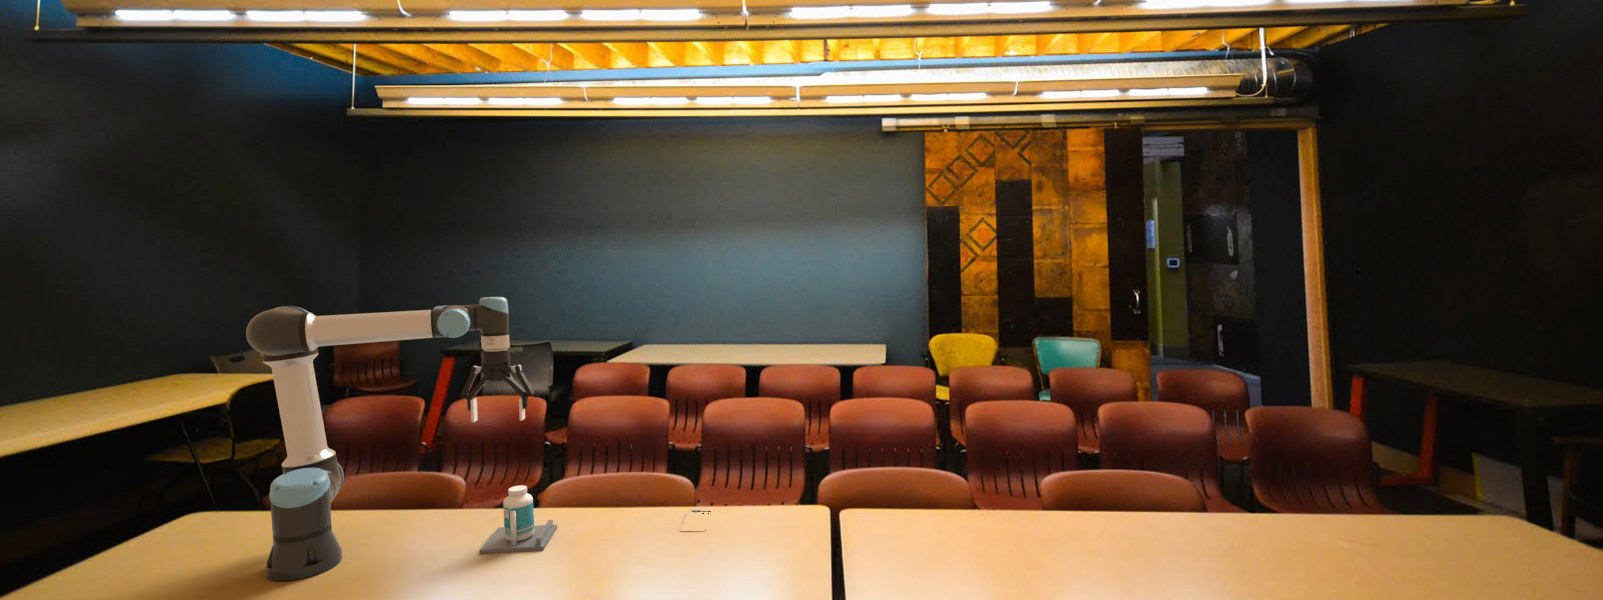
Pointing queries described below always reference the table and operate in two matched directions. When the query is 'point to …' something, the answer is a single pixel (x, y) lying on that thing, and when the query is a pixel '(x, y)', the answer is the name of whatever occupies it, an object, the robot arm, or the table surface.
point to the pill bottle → (519, 512)
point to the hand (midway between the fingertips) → (498, 420)
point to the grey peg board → (531, 544)
